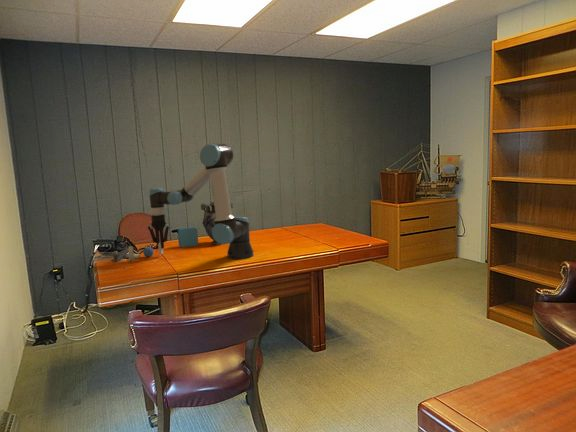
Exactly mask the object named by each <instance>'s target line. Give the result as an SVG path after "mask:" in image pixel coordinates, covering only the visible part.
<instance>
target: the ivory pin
mask: <svg viewBox="0 0 576 432" xmlns="http://www.w3.org/2000/svg"><path fill="white" fill-rule="evenodd" d="M140 258H141V254H140V253H134V259H140ZM124 259H130V258H129V254H126V255H125V258H124Z"/></svg>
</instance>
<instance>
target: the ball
mask: <svg viewBox="0 0 576 432" xmlns="http://www.w3.org/2000/svg"><path fill="white" fill-rule="evenodd" d="M142 253H143V256H145V257H147V258H150V257H152V256H153V255H154V253H155V252H154V248H153V247H150V246H148V247H147V246H146V247H145V248H143V251H142Z"/></svg>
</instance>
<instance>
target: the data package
mask: <svg viewBox="0 0 576 432" xmlns="http://www.w3.org/2000/svg"><path fill="white" fill-rule="evenodd" d="M198 233H199V231H198V228H197V227H194V226H191V227H183V228H178V229H177V239H178V246H179V247H181V248H189V247H197V246H198V245H199V235H198Z"/></svg>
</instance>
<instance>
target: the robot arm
mask: <svg viewBox="0 0 576 432" xmlns="http://www.w3.org/2000/svg"><path fill="white" fill-rule="evenodd" d="M199 160H200V162H201V164H202V165H203V166H204V167H203V168H202V169H201V170H200V171H199V172H198V173H196V175H194V176H193V178H192V179H190V181H188V182H187V184H185V186H183V187H182V188H181V189H179V190H171V191H164V189H163V188H162V187H153V188H150V189H149V202H150V214H151V224H150V225H149V226H147V230H148V231H149V233H150V236H151V239H152V242H153V243H156V249H157V250H158V254H159V255H163V254H164V249H165V243H166V242H167V241H168V236H169V230H170V228H171V225H168V224H167V222H166V215H165V205H168V206H169V205H171V206H172V205H173V206H175V205H180V204H183V203H188V202H191V201H192V200H193V199H194V197H195V195H196V194H197V193H198V192H199V191H200V190H201V189H202V188H203V187H205V185H206V184H208V182H210V186H211V192H212V198H213V202H214V206H215V212H216V218H215V220H214V224H215V226H214V227H213V229H212V236H213V238H214V239H215V241H217V242H218V243H220V244H219V245H226V244H227V245H228V244H229V245H228V249H227V252H226V254H227V255H226V257H227V258H229V259H233V260H239V259H240V260H242V259H248V258H249V259H250V258H251V257H254V250H253V248H252V245H251V236H250V222H249V218H248V217H246V216H234V215H233V214H232V213H233V212H232V208H231V205H230V203H231V200H230V199H231V198H230V195H229V186H228V181H227V180H228V179H227V174H226V170H227V169H228V166H229V165H230V164H231V163H232V161H233V160H234V150H233V149H232V147H230V146H229V145H227V144H225V143H209V144H208V143H207V144H206V145H204V146H203V147H202V148H201V149H200V152H199Z"/></svg>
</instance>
